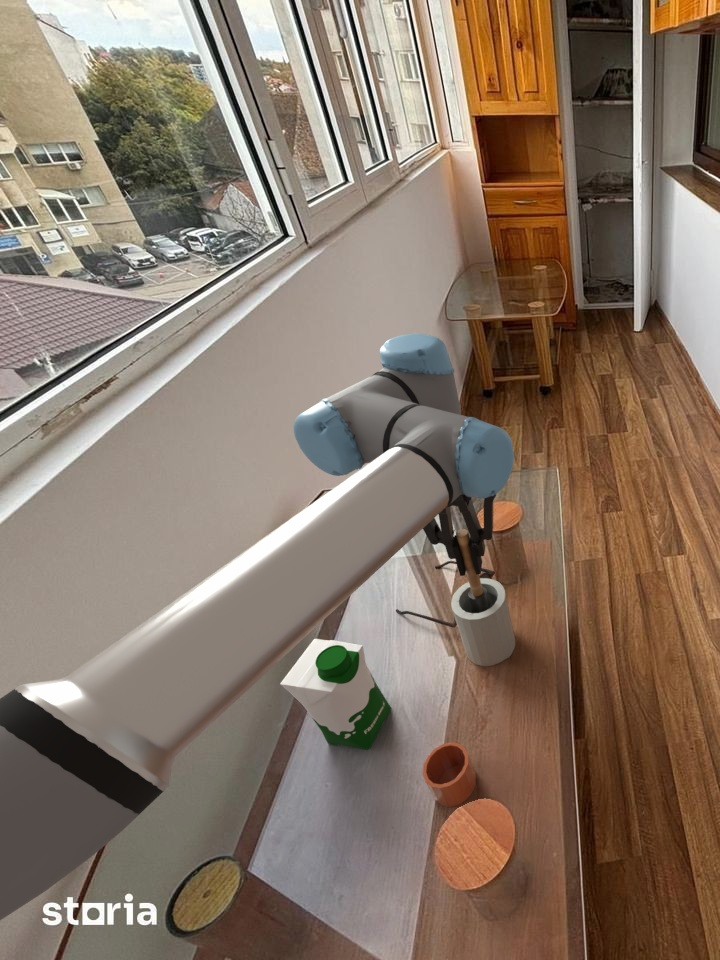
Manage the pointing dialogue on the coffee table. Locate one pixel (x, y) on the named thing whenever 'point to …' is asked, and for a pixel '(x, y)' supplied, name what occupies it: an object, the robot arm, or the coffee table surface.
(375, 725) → the milk carton
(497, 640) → the cup
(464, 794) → the holder
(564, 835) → the coffee table surface
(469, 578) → the brush
